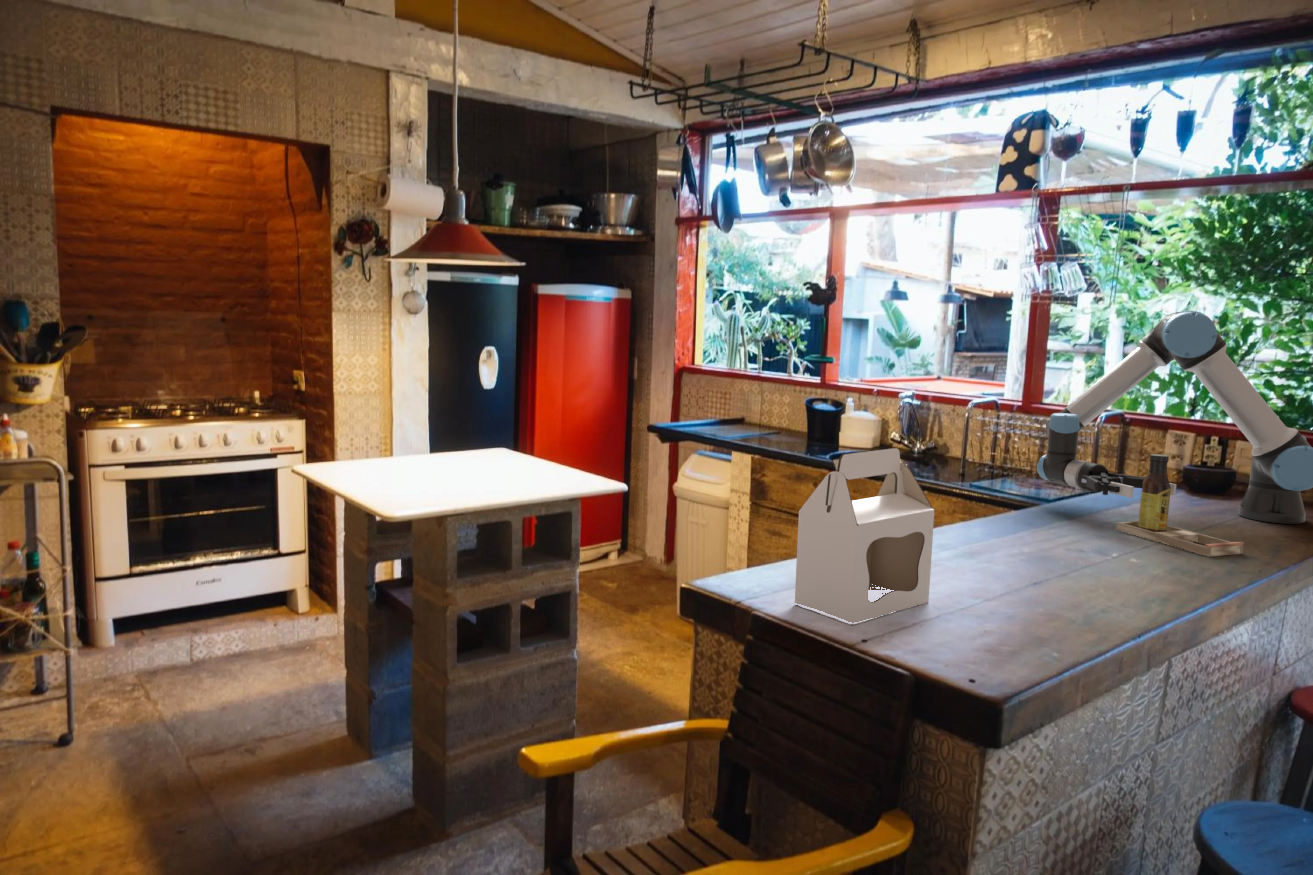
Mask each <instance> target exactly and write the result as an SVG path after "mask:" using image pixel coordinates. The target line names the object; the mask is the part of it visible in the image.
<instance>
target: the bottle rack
mask: <svg viewBox="0 0 1313 875" xmlns="http://www.w3.org/2000/svg"><path fill="white" fill-rule="evenodd" d="M1138 521H1139V520H1136V521H1122V522H1120V521H1119V522H1116V525H1115V526H1116V529H1115V531H1117V530H1118V531H1117V532H1120V531H1123V532H1122V533H1124V532H1126V533H1125V534H1127V533H1128V534H1127V535H1131V534H1133V535H1132V536H1134V535H1136V536H1135V537H1137V536H1139V537H1138V538H1141V537H1142V538H1141V539H1144V538H1147V539H1146V540H1148V539H1150V540H1149V541H1151V540H1153V541H1152V542H1155V541H1157V542H1156V543H1158V542H1161V543H1160V544H1162V543H1164V544H1163V545H1165V544H1167V545H1166V546H1169V545H1171V546H1170V547H1172V546H1174V547H1173V548H1176V547H1177V548H1176V549H1179V548H1181V549H1180V550H1183V549H1184V551H1186V552H1190V553H1193V552H1194V554H1197V555H1201V556H1203V557H1218V556H1219V557H1220V556H1230V555H1240V554H1241V555H1242V554H1243V553H1244V552H1243V550H1244V549H1243V548H1244V544H1245V542H1243V541H1229V540H1226V539H1221V538H1218V537H1214V536H1210V535H1207V534H1203V533H1199V532H1195V531H1191V530H1188V529H1184V528H1180V527H1176V526H1171V525H1168V524H1167V530H1166V532H1152V531H1149V530H1145V529H1141V528H1138V527H1139V526H1138ZM1193 542H1196V543H1193ZM1198 543H1199V544H1198ZM1202 544H1203V545H1202Z"/></svg>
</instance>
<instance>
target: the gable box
mask: <svg viewBox="0 0 1313 875" xmlns="http://www.w3.org/2000/svg"><path fill="white" fill-rule="evenodd" d="M900 454H901V453H900V449H899V448H896V447H892V448H887V449H886V448H885V449H875V450H868V451H861V452H860V451H858V452H852V453H851V452H850V453H843V454H841V455H840V456H839V458H838V459H833V460H832V464H833V466H834V470H835V471H834V470H833V471H830V472H829V473H827V474H826V475H825V477H824V478H823V479H822V480H821V482H820V483H819V484H818V485H817V486H816V488H815V489H814V491H813V492H812V493H811V495H810V496H809V497H808V499H807V500H806V501H805V503H803V505H802V507H800V509H799V510H798V522H797V524H798V525H797V544H796V564H795V565H796V567H795V588H794V589H795V590H794V604H795V603H797V604H801V605H804V606H807V607H810V608H814V609H817V610H819V611H823V612H825V613H827V614H830V615H833V616H836V617H838V618H841V619H844V620H846V621H848V622H852V623H854V622H859V621H863V620H866V619H870V618H875V617H878V616H881V615H886V614H889V613H891V612H894V611H899V610H902V609H906V608H909V609H911V607H912V608H914V606H915V607H918V606H917V605H919V606H921V604H922V605H925V604H929V600H930V598H929V597H930V587H931V586H930V584H931V569H932V568H931V567H932V552H933V539H934V538H933V536H934V526H935V525H934V522H935V521H934V520H935V509H934V507H933V505H932V503H931V502H930V500H929V499H928V497H927V495H926V494H925V492H924V490H923V489H922V487H921V485H920V484H919V482H918V480H917V479H916V477H915V475H914V473H913V472H912V470H911V469H910V468H909V467H908V463H902V462H901V455H900ZM883 475H885V478H884V481H883V483H882V484H881V487H880V489H879V492H878V494H877V495H876V496H872V497H866V498H860V499H854V500H852V497H851V492H850V489H849V484H848V481H849V480H850V481H851V480H855V479H864V478H869V477H870V478H871V477H876V476H883ZM872 584H873V585H872ZM875 585H876V586H875ZM878 586H879V587H880V589H876V588H875V587H878ZM870 587H871V590H881V587H883V588H886V590H887V589H890V590H894V591H891V592H889V593H887V594H886V593H885V595H883V596H882V597H881V598H879V599H878V600H876V601H874V602H870V601H869V600H868V590H870ZM872 587H874V588H872ZM882 590H885V589H882ZM882 594H883V593H882ZM906 610H907V609H906ZM902 611H903V610H902ZM899 612H900V611H899ZM889 615H890V614H889ZM886 616H887V615H886Z"/></svg>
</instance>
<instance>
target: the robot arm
mask: <svg viewBox="0 0 1313 875" xmlns="http://www.w3.org/2000/svg"><path fill="white" fill-rule="evenodd" d="M1227 344H1228V343H1226V341H1225V340H1224V339H1223V337H1222V336H1221V335H1220V334H1219V332H1218V330H1217V328H1216V325H1215V323H1214V321H1213V320H1212V319H1211V318H1210V317H1209V316H1207V315H1206V314H1203V313H1202V312H1199V311H1197V310H1196V311H1195V310H1183V311H1176V312H1172V313H1170V314H1168V315H1165V317H1163V318H1162V319H1161V320H1160V321H1159V322H1157V324H1156V325H1155V326H1154V327H1153V328H1152V329H1151V330H1150V331H1149V332H1148V333H1147V334H1146V335H1145V336H1143V338H1141V339H1140V340H1139V341H1138V345H1137V347H1136V349H1134V350H1133V351H1132V352H1130V353H1129V354H1128V355H1127V356H1126V357H1124V358H1123V359H1122V360H1121V361H1120V362H1119V363H1117V364H1116V365H1115V366H1113V368H1111V369H1110V370H1109V371H1108V372H1106V373H1105V374H1104V375H1103V376H1102V377H1100V378H1099V379H1098V380H1097V381H1095V382H1094V383H1092V385H1091V386H1090V387H1089V388H1087V389H1085V391H1084V392H1083V393H1081V394H1080V395H1079V396H1077V397H1076V398H1075V399H1074V400H1073V401H1072V402H1070V403H1069V404H1068V405H1067V406H1066V407H1064V408H1063V409H1062V410H1061V411H1059V412H1054V413H1052V414H1050V418H1049V419H1048V420H1047V422H1046V424H1045V434H1046V435H1047V437H1048V440H1047V450H1046V451H1047V452H1046V454H1044V455H1042V456H1041V457H1040V458H1039V461H1038V462H1037V464H1036V470H1037V474H1038V475H1039V477H1040V478H1042V479H1043V480H1045V481H1048V482H1051V483H1053V484H1059V485H1064V486H1069V487H1073V488H1075V490H1076V491H1079V490H1080V489H1081V490H1083V491H1089V492H1092V493H1101V491H1102V496H1108V495H1109V493H1110V494H1112V495H1113V494H1114V495H1117V496H1121V497H1126V498H1134V489H1142V487H1143V480H1144V479H1145V477H1146V476H1145V477H1144V476H1138V475H1137V476H1136V475H1131V474H1130V475H1128V474H1125V473H1119V474H1118V473H1116V472H1109V471H1108V469H1107V468H1106V466H1105V465H1103V464H1100V463H1095V462H1090V461H1086V460H1081V459H1077V455H1078V454H1077V453H1078V452H1077V451H1078V442H1079V432H1081V431H1082V430H1083V429H1084V428H1086V426H1087V425H1089V424H1090V423H1091V422H1092V421H1093V420H1095V419H1096V418H1097V417H1099V416H1100V414H1102V413H1104V412H1105V411H1106V410H1107V409H1108V408H1109V407H1111V406H1112V405H1113V404H1114V403H1116V402H1117V401H1118V400H1120V398H1122V397H1123V396H1125V395H1126V394H1127V393H1128V392H1129V391H1130V390H1132V389H1133V388H1134V387H1136V386H1137V385H1138V384H1139V383H1140V382H1142V381H1143V380H1144V379H1145V378H1147V377H1148V376H1149V375H1150V374H1152V373H1153V372H1154V371H1155V370H1156V369H1157V368H1160V367H1166V366H1167V365H1168V364H1170V363H1171V362H1172V361H1173V360H1174V361H1175V362H1176V363H1177V364H1178V365H1179V367H1180V368H1181V370H1183V371H1184V372H1189V373H1193V374H1194V375H1195V377H1197V378H1198V380H1199V381H1200V383H1201V384H1202V385H1203V386H1204V387H1205V388H1206V390H1207V391H1208V392H1209V393H1210V395H1211V396H1212V397H1213V398H1214V399H1215V401H1216V402H1217V403H1218V405H1219V406H1220V407H1221V408H1222V409H1223V410H1224V412H1225V413H1226V414H1227V416H1228V417H1229V419H1231V421H1232V422H1233V423H1234V424H1235V425H1236V426H1237V428H1238V429H1239V430H1240V432H1241V433H1242V434H1243V435H1244V437H1245V438H1246V439H1247V440H1248V442H1249V443H1250V445H1252V448H1251V452H1250V454H1251V463H1250V470H1249V481H1248V487H1247V490H1246V492H1245V494H1244V495H1243V498H1242V500H1241V502H1240V504H1239V505H1238V510H1237V514H1238V515H1239V516H1241V517H1243V518H1246V519H1251V520H1256V521H1260V522H1266V523H1274V524H1275V523H1277V524H1288V525H1289V524H1291V525H1292V524H1303V523H1305V522H1306V516H1307V514H1306V511H1305V506H1304V502H1303V498H1302V495H1301V492H1302V491H1307V490H1310V489H1312V488H1313V447H1312V445H1310V443H1309V442H1308V441H1307V437H1306V436H1305V435H1302V434H1301V432H1300V431H1299V430H1298V429H1297V428H1295V427H1294V428H1293V427H1288V426H1286V425H1285V424H1284V422H1283V421H1282V420H1281V419H1280V418H1279V416H1278V415H1277V413H1276V412H1274V410H1273V409H1272V408H1271V407H1270V405H1269V404H1268V403H1267V402H1266V401H1265V399H1264V398H1263V396H1261V395H1260V393H1259V392H1258V391H1257V389H1256V388H1255V387H1254V386H1253V385H1252V383H1251V382H1250V381H1249V379H1248V378H1247V377H1246V376H1245V375H1244V373H1243V372H1242V371H1241V370H1240V368H1238V366H1237V365H1236V364H1235V362H1233V359H1231V357H1229V355H1228V354H1227V352H1226V350H1227V346H1228V345H1227ZM1169 484H1170V487H1171V492H1170V496H1176V493H1177V492H1176V491H1177V484H1176V483H1171V482H1169Z"/></svg>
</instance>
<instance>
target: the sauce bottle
mask: <svg viewBox="0 0 1313 875" xmlns="http://www.w3.org/2000/svg"><path fill="white" fill-rule="evenodd" d="M1169 460H1170V459H1169V455H1166V454H1159V453H1157V454H1155V453H1151V454H1149V469H1148V472H1149V473H1148V474H1147V475H1146V476H1145V479H1144V480H1143V487H1142V488H1141V489H1142V490H1141V492H1140V502H1139V513H1138V520H1137V521H1138V526H1139V527H1138V528H1141V529H1145V530H1149V531H1152V532H1166V530H1167V525H1168V519H1169V510H1170V500H1171V495H1170V492H1171V487H1170V484H1169V483H1170V482H1169V477H1168V474H1167V473H1168V463H1169Z"/></svg>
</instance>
